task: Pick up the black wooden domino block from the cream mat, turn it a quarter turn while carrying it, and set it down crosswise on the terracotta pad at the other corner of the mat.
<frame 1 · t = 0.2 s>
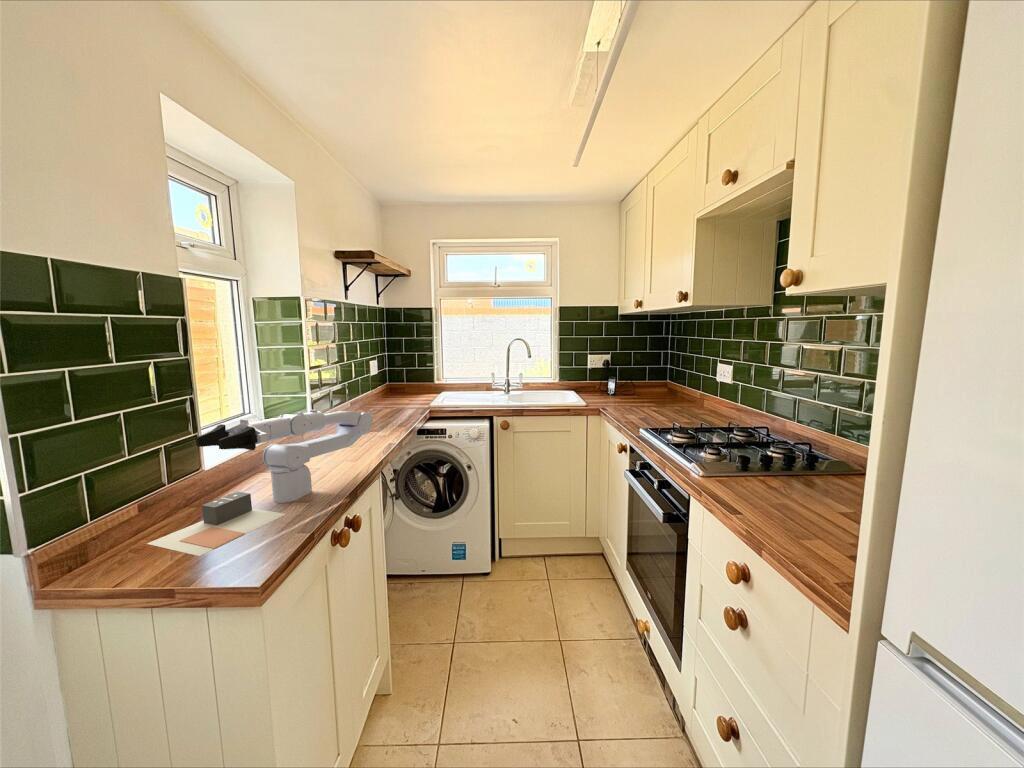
hand: (208, 443, 96), 21 cm above the countertop, tool horizontal, fingers open, 7 cm apart
domino block: (228, 516, 104), point 1 cm above the countertop, touching cream mat
cream mat: (221, 530, 98), on the countertop
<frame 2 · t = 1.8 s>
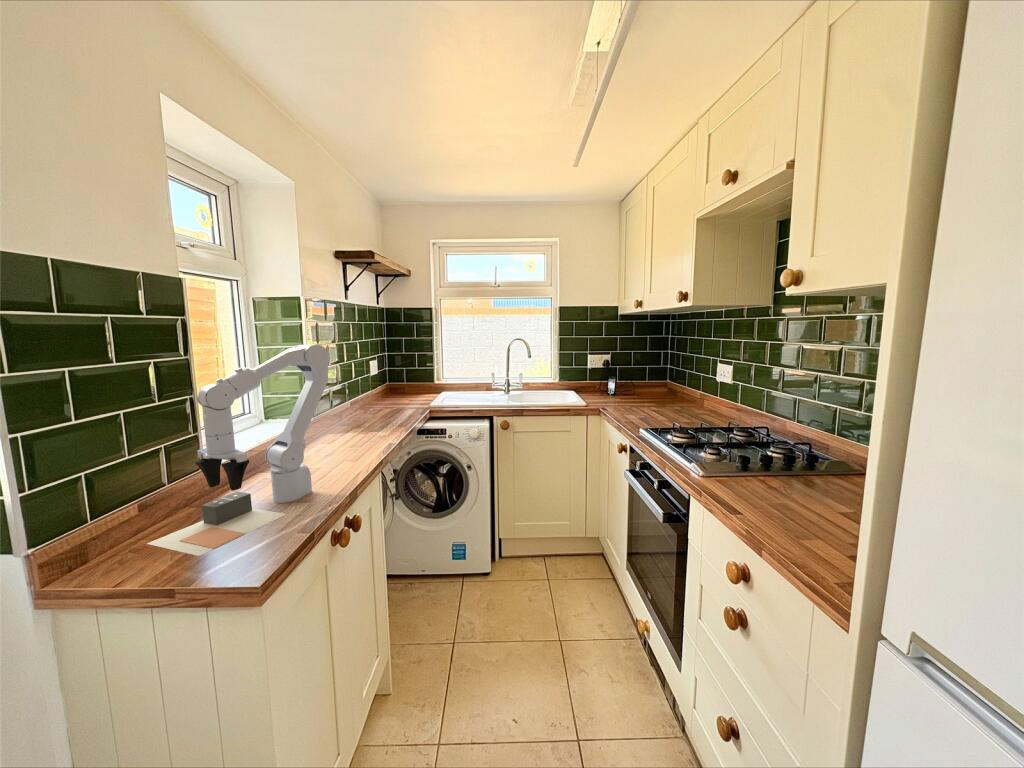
hand: (225, 487, 103), 8 cm above the countertop, tool pointing down, fingers open, 7 cm apart
nothing on the countertop moved.
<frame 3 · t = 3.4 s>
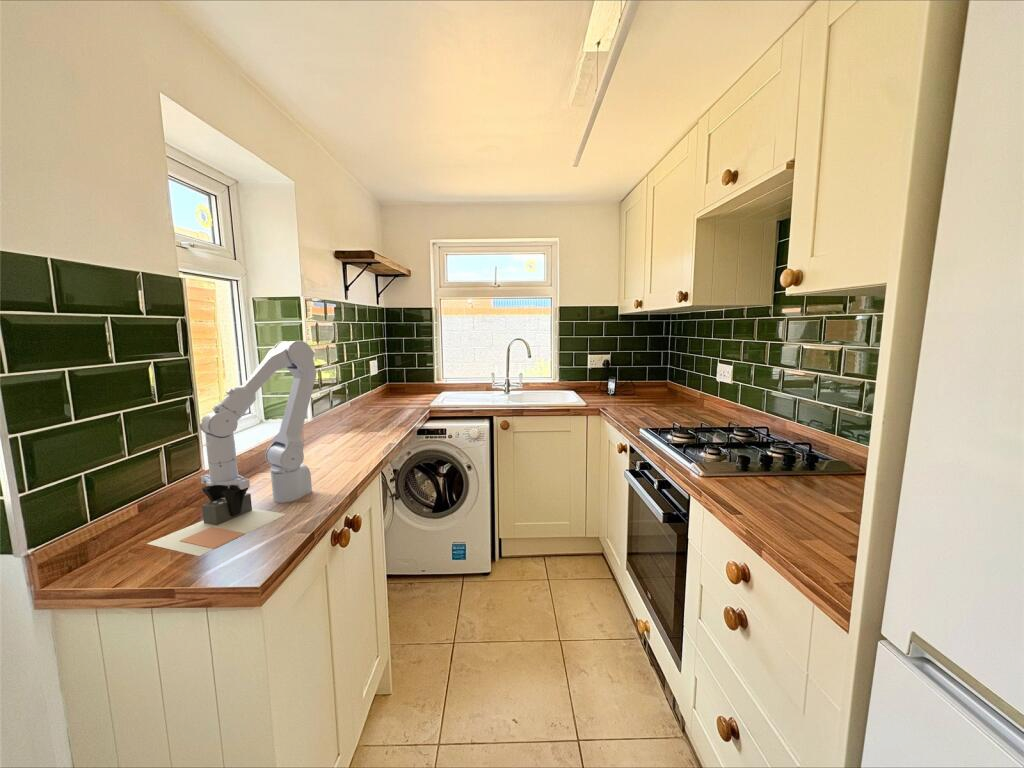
hand: (228, 513, 104), 1 cm above the countertop, tool pointing down, fingers closed on domino block, 5 cm apart
domino block: (228, 516, 104), point 1 cm above the countertop, touching cream mat, gripper
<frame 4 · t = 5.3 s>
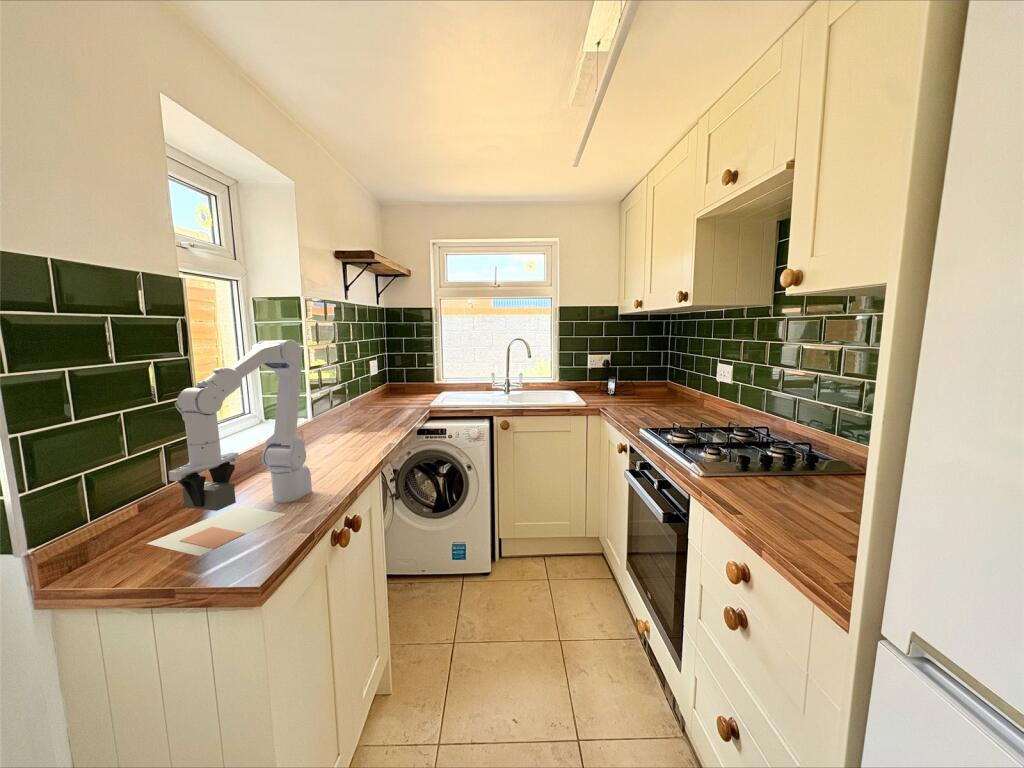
hand: (210, 501, 93), 8 cm above the countertop, tool pointing down, fingers closed on domino block, 5 cm apart
domino block: (210, 505, 94), point 8 cm above the countertop, touching gripper
when the fingers open (3 cm above the countertop, at t = 7.3 s): domino block drops 1 cm, resting on cream mat.
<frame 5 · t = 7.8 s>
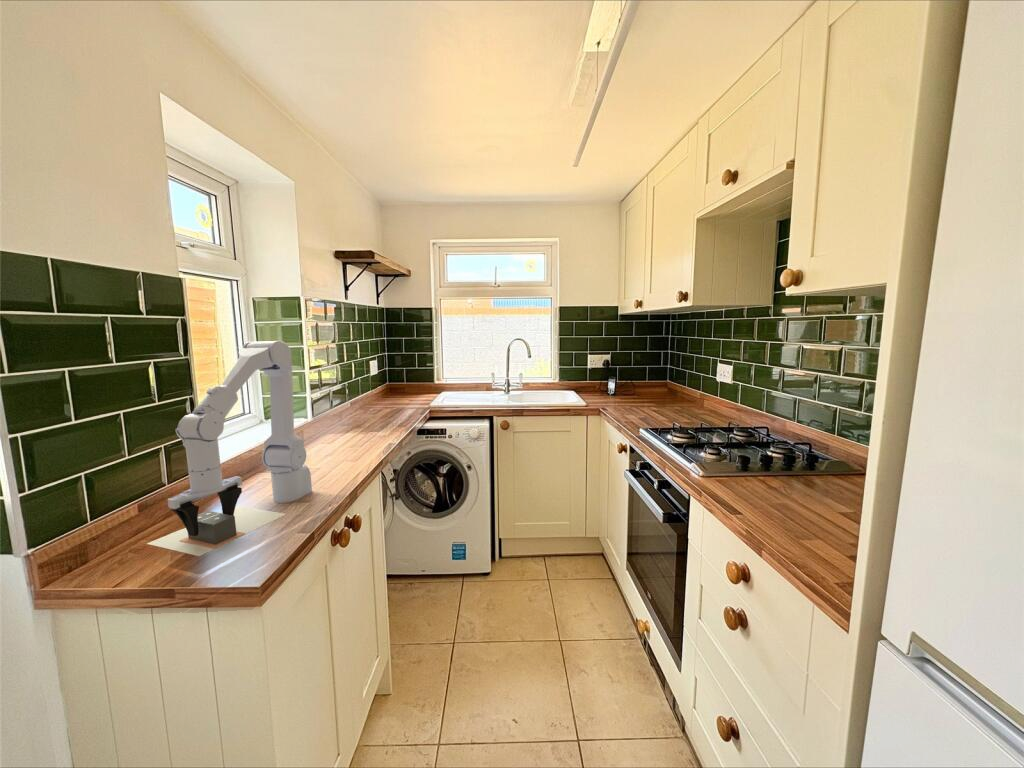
hand: (211, 527, 93), 3 cm above the countertop, tool pointing down, fingers open, 7 cm apart
domino block: (212, 536, 93), point 1 cm above the countertop, touching cream mat
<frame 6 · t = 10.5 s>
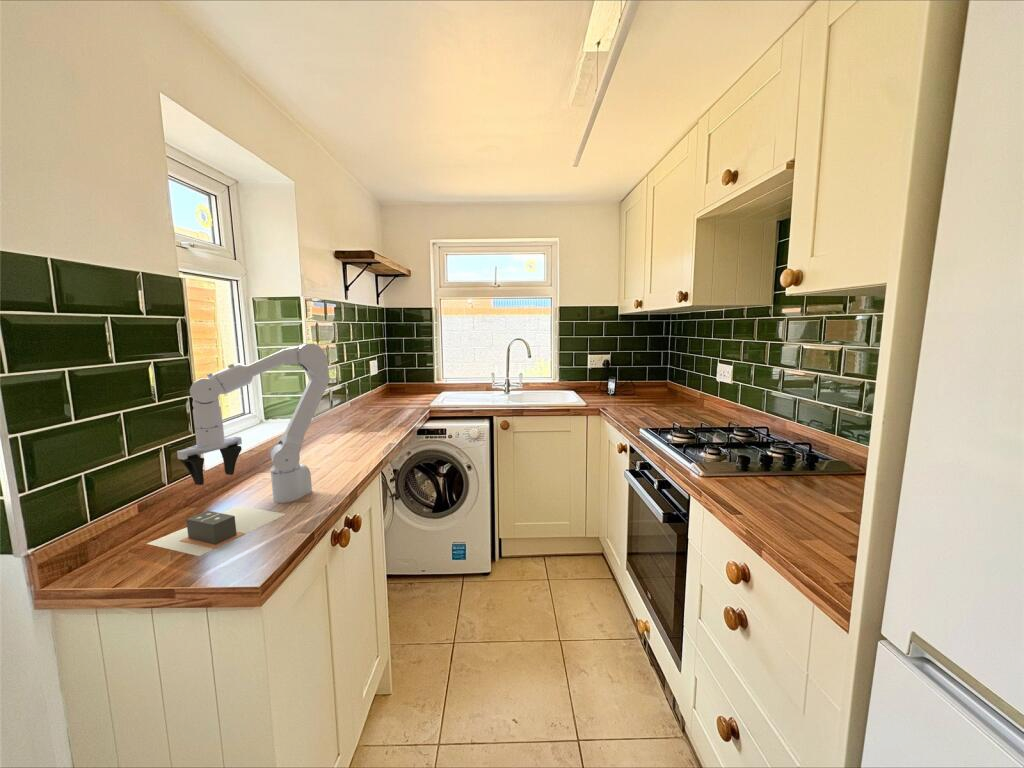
hand: (215, 479, 106), 9 cm above the countertop, tool pointing down, fingers open, 7 cm apart
nothing on the countertop moved.
at the end: domino block 0.0 cm from the target spot on the cream mat, point 0.8 cm above the cream mat's base; domino block tilted 0°; the gripper is holding nothing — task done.
